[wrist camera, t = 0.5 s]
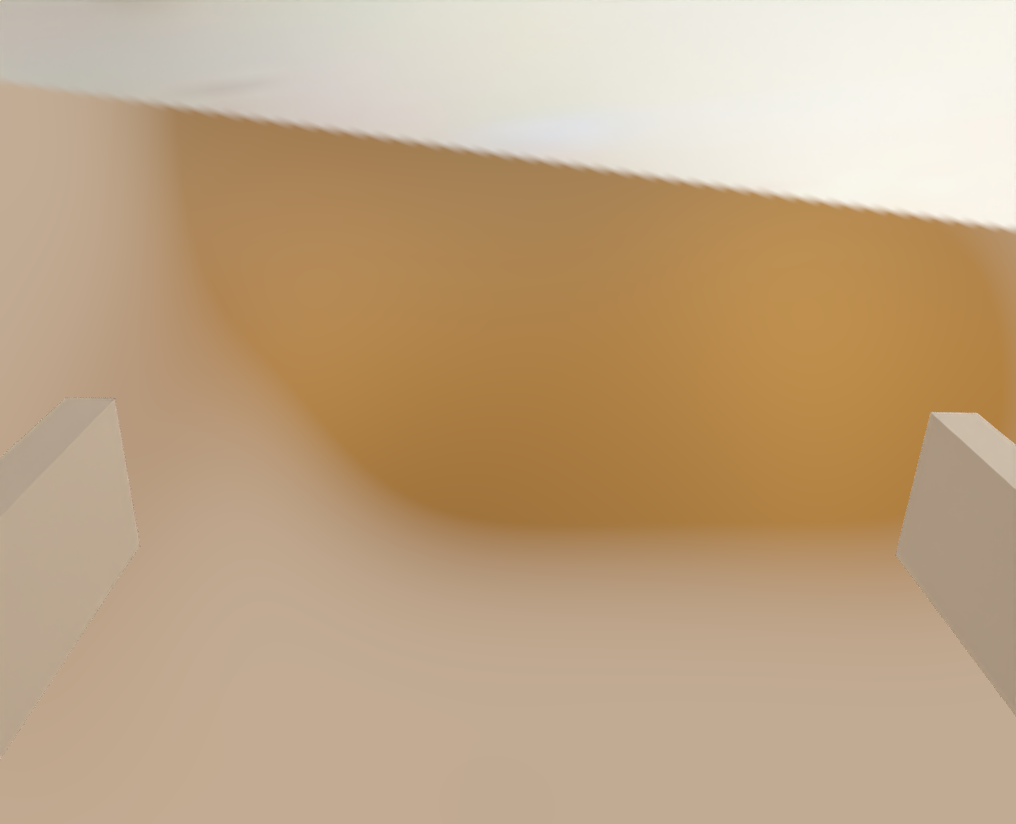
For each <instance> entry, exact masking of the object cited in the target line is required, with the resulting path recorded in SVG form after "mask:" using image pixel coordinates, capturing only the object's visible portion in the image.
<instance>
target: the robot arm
mask: <svg viewBox="0 0 1016 824" xmlns="http://www.w3.org/2000/svg"><path fill="white" fill-rule="evenodd" d="M139 547H140V542H139V536H138V531H137V525H136V519H135V513H134V507H133V501H132V496H131V489H130V484H129V478H128V473H127V466H126V460H125V454H124V448H123V443H122V437H121V431H120V425H119V419H118V413H117V408H116V401H115V398H70V397H67V398H65V399H64V400H63V401H62V402H60V403H59V404H58V405H57V406H56V407H55V408H54V409H53V410H52V411H51V412H50V413H49V414H47V415H46V416H45V417H44V418H43V419H42V420H41V421H40V422H39V423H37V424H36V425H35V426H34V427H33V428H32V429H31V430H30V431H29V432H28V433H27V434H25V435H24V436H23V437H22V438H21V439H20V440H19V441H18V442H17V443H16V444H14V445H13V446H12V447H11V448H10V449H9V450H8V451H7V452H6V453H5V454H3V456H1V457H0V759H1V758H2V756H3V755H4V753H5V752H6V750H7V749H8V747H9V746H10V744H11V743H12V741H13V739H14V738H15V736H16V734H17V733H18V732H19V730H20V729H21V727H22V726H23V724H24V723H25V721H26V720H27V718H28V717H29V715H30V713H31V712H32V710H33V709H34V707H35V706H36V704H37V703H38V701H39V700H40V698H41V697H42V695H43V694H44V692H45V690H46V689H47V687H48V686H49V684H50V683H51V681H52V680H53V678H54V677H55V675H56V674H57V672H58V671H59V669H60V667H61V666H62V664H63V663H64V661H65V660H66V658H67V657H68V655H69V654H70V652H71V651H72V649H73V648H74V646H75V645H76V643H77V641H78V640H79V638H80V637H81V635H82V634H83V632H84V631H85V629H86V628H87V626H88V625H89V623H90V622H91V620H92V619H93V617H94V615H95V614H96V612H97V611H98V609H99V608H100V606H101V605H102V603H103V602H104V600H105V599H106V597H107V596H108V594H109V592H110V591H111V589H112V588H113V586H114V585H115V583H116V582H117V580H118V579H119V577H120V576H121V574H122V573H123V571H124V569H125V568H126V567H127V565H128V563H129V562H130V560H131V559H132V557H133V556H134V554H135V553H136V551H137V550H138V548H139ZM896 556H897V558H898V559H899V561H900V562H901V563H902V564H903V566H904V567H905V568H906V570H907V571H908V573H909V574H910V575H911V577H912V578H913V579H914V581H915V582H916V583H917V585H918V586H919V587H920V588H921V590H922V591H923V593H924V594H925V595H926V597H927V598H928V599H929V601H930V602H931V603H932V605H933V606H934V607H935V609H936V610H937V611H938V613H939V614H940V615H941V617H942V618H943V619H944V621H945V622H946V623H947V625H948V626H949V627H950V629H951V630H952V631H953V633H954V634H955V635H956V637H957V638H958V639H959V641H960V642H961V643H962V645H963V646H964V647H965V649H966V650H967V652H968V653H969V654H970V656H971V657H972V658H973V659H974V661H975V662H976V663H977V665H978V666H979V668H980V669H981V670H982V672H983V673H984V674H985V676H986V677H987V678H988V680H989V681H990V682H991V684H992V685H993V686H994V688H995V689H996V690H997V692H998V693H999V694H1000V696H1001V697H1002V698H1003V700H1004V701H1005V702H1006V704H1007V705H1008V706H1009V708H1010V709H1011V710H1012V712H1013V713H1014V714H1015V716H1016V445H1015V444H1014V443H1013V442H1011V441H1010V440H1009V439H1008V438H1007V437H1005V436H1004V435H1003V434H1002V433H1000V432H999V431H998V430H997V429H996V428H995V427H993V426H992V425H991V424H990V423H988V422H987V421H986V420H985V419H984V418H982V417H981V416H980V415H979V414H977V413H946V412H931V413H930V417H929V421H928V425H927V429H926V433H925V437H924V441H923V445H922V450H921V454H920V458H919V462H918V466H917V470H916V474H915V478H914V482H913V486H912V490H911V494H910V498H909V502H908V507H907V510H906V514H905V518H904V522H903V527H902V531H901V535H900V539H899V543H898V547H897V551H896Z"/></svg>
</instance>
